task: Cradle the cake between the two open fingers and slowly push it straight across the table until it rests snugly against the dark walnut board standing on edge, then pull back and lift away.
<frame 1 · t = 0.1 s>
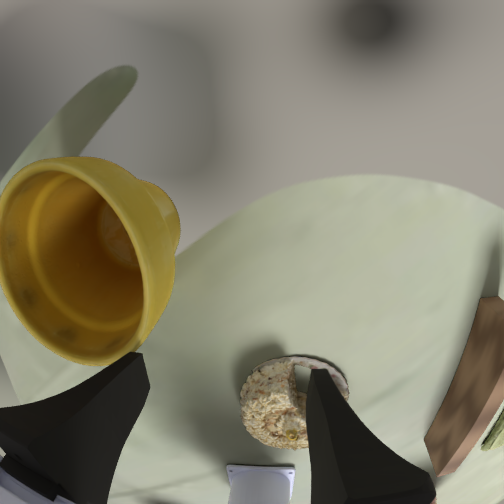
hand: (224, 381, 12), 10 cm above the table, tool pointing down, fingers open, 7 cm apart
walnut board: (460, 381, 23), on the table
cake: (293, 394, 25), on the table
plant pot: (140, 223, 21), on the table
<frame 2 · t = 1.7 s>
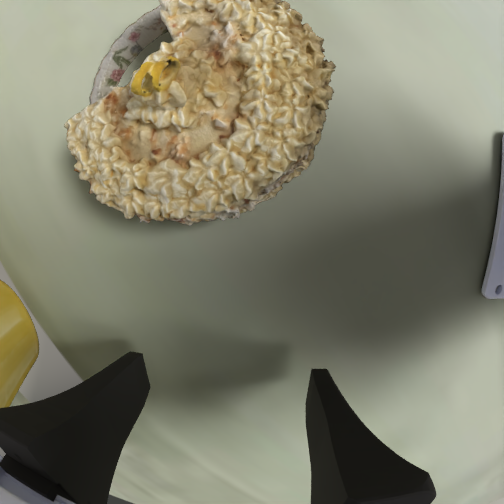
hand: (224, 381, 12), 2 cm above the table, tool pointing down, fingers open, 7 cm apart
cake: (201, 101, 11), on the table
plant pot: (9, 318, 15), on the table
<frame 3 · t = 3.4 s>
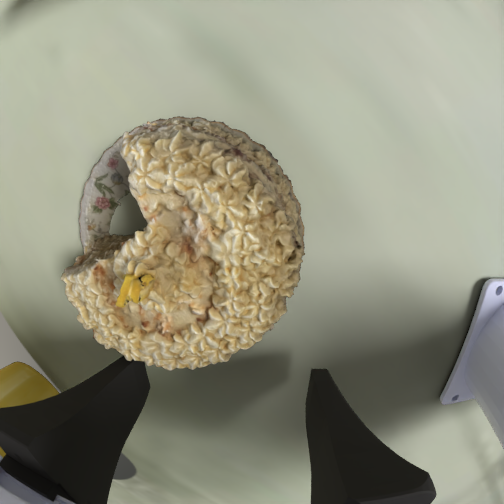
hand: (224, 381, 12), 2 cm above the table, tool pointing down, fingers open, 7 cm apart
cake: (183, 238, 12), on the table, touching gripper
plant pot: (39, 391, 18), on the table
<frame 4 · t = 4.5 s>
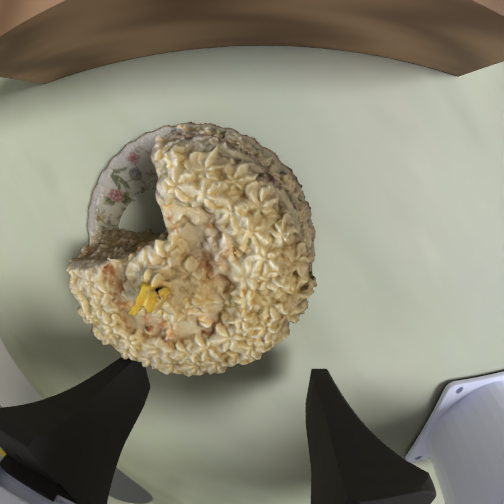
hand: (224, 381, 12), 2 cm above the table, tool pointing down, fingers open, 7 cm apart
walnut board: (233, 21, 9), on the table
cake: (193, 244, 13), on the table
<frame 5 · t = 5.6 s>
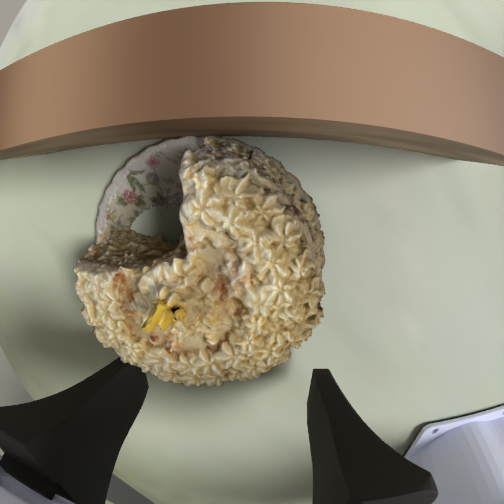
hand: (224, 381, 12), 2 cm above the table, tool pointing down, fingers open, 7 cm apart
walnut board: (232, 105, 10), on the table
cake: (202, 256, 13), on the table, touching gripper, walnut board
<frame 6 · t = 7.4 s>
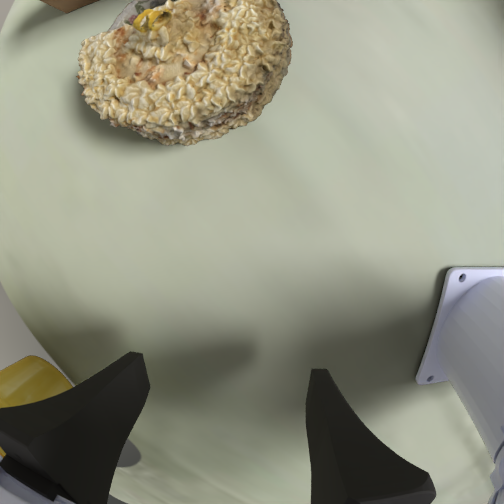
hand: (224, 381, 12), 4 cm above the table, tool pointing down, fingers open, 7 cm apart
cake: (189, 54, 12), on the table
plant pot: (51, 383, 20), on the table
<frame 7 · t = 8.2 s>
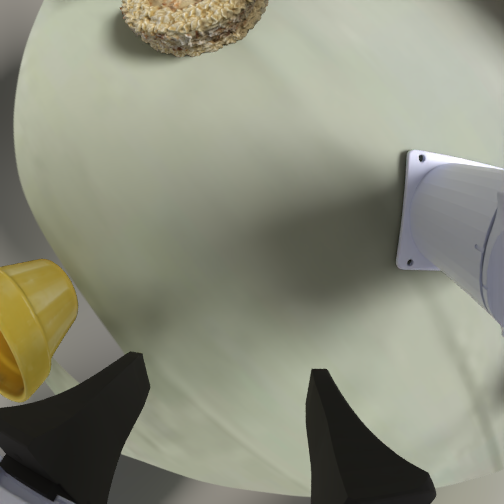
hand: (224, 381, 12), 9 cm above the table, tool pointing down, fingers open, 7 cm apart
cake: (197, 2, 15), on the table
plant pot: (52, 291, 23), on the table
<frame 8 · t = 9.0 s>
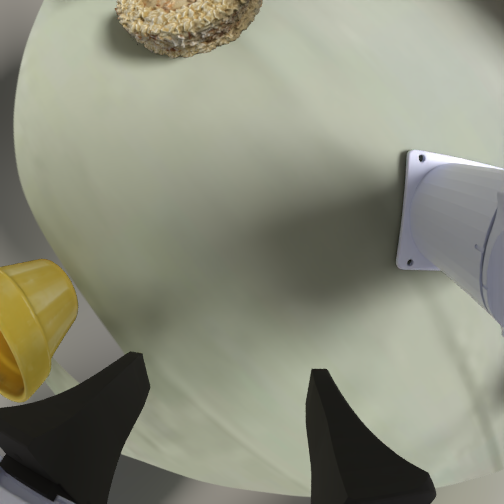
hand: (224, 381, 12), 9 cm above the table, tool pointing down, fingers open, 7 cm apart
cake: (192, 3, 15), on the table, touching walnut board
plant pot: (52, 291, 23), on the table
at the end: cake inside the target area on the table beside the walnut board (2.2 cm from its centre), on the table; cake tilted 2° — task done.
